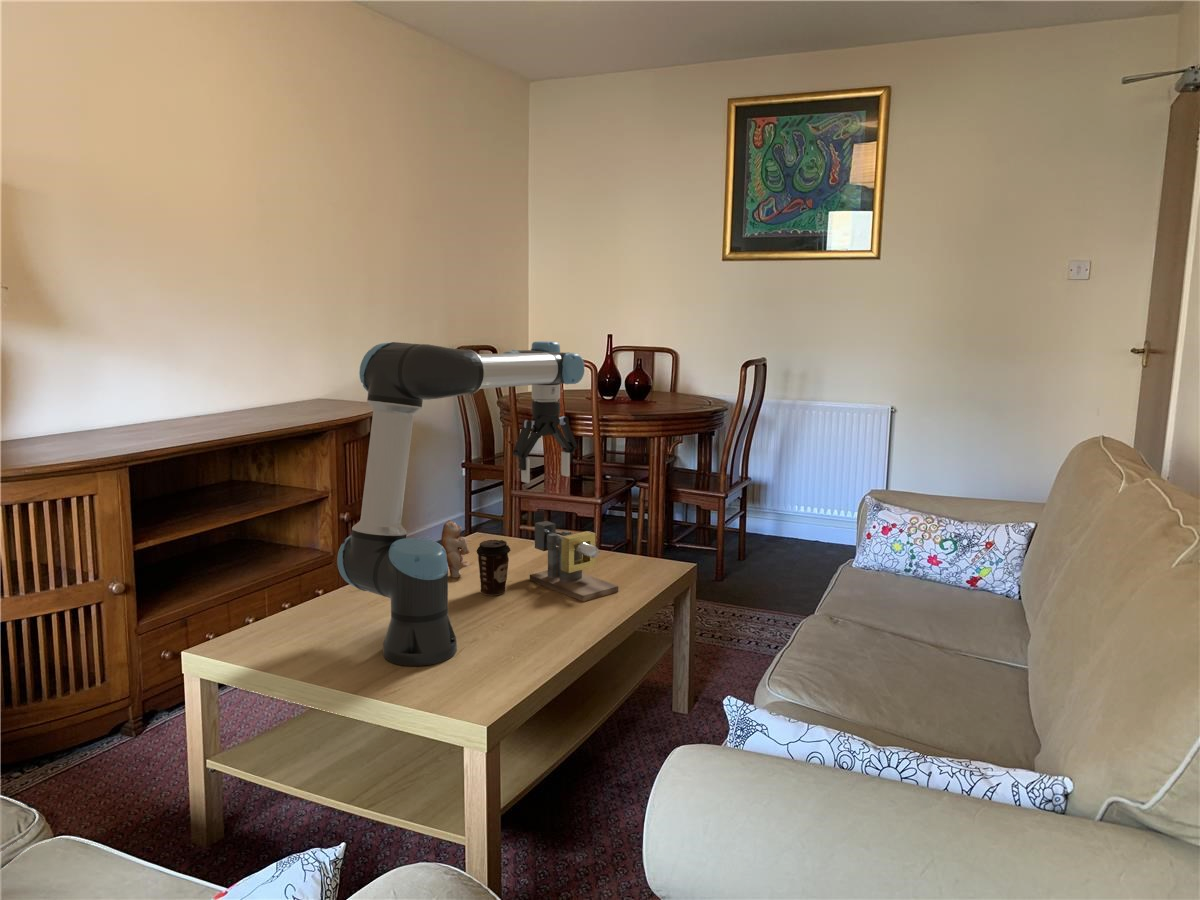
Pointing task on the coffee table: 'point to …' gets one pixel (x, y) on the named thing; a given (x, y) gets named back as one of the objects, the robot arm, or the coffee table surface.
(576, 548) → the shaft
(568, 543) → the block
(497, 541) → the coffee cup
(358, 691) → the coffee table surface
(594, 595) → the bearing block
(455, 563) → the figurine
